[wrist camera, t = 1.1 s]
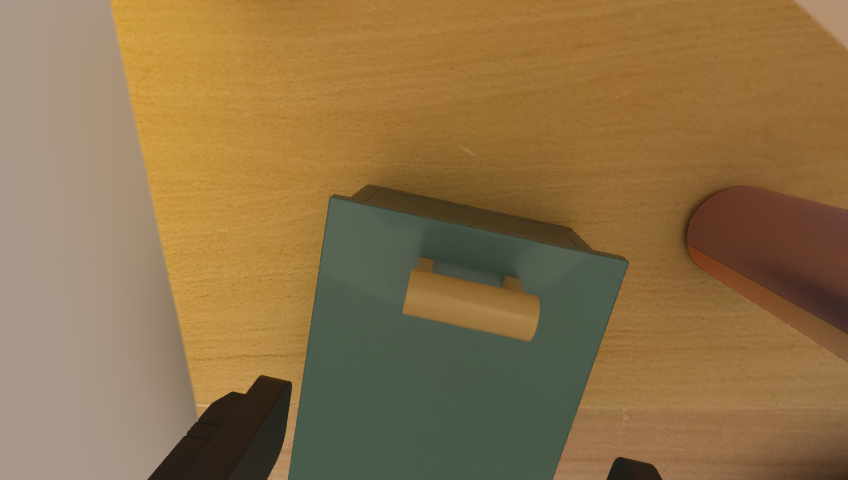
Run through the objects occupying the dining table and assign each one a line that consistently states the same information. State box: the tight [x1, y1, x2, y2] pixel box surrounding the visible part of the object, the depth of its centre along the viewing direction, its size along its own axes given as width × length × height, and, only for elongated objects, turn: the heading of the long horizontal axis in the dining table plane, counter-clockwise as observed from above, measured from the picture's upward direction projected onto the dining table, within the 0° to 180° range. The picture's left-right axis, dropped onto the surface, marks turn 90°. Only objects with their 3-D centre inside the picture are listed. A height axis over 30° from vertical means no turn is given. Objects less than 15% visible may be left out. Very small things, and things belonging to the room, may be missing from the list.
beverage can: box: [687, 186, 848, 362], centre depth 22 cm, size 6×6×15 cm
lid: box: [288, 194, 629, 480], centre depth 21 cm, size 18×14×5 cm
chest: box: [351, 184, 592, 250], centre depth 28 cm, size 17×14×9 cm
